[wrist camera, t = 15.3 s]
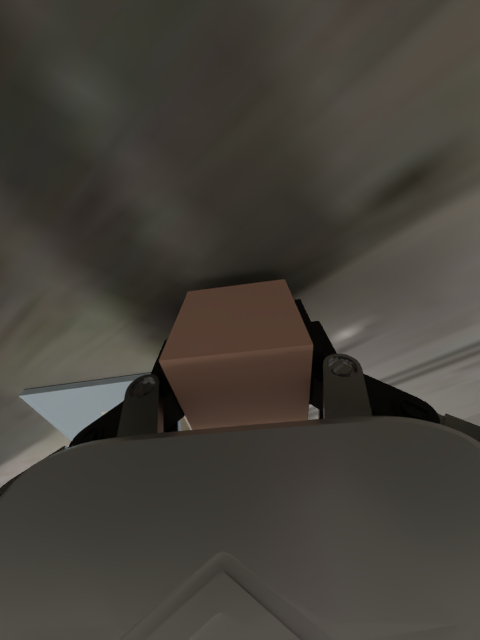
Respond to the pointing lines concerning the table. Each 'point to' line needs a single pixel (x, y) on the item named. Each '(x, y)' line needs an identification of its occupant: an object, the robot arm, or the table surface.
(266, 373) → the top block
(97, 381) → the board
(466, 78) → the table surface
